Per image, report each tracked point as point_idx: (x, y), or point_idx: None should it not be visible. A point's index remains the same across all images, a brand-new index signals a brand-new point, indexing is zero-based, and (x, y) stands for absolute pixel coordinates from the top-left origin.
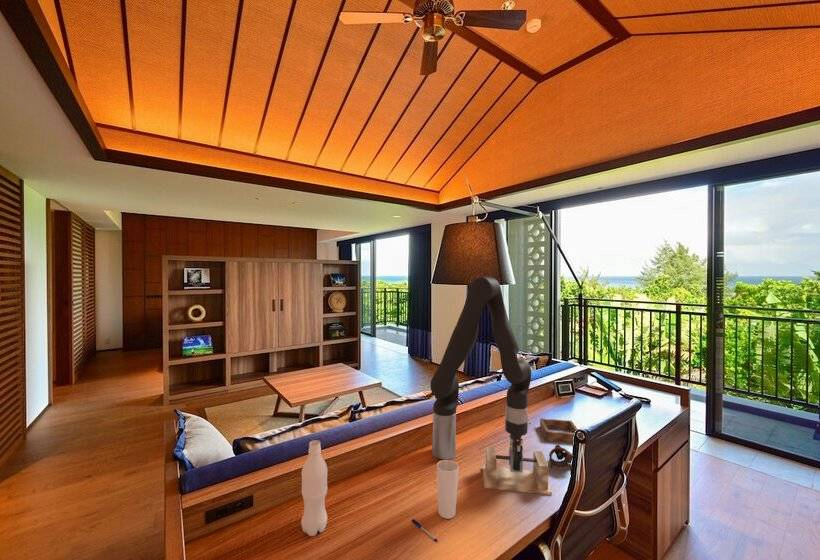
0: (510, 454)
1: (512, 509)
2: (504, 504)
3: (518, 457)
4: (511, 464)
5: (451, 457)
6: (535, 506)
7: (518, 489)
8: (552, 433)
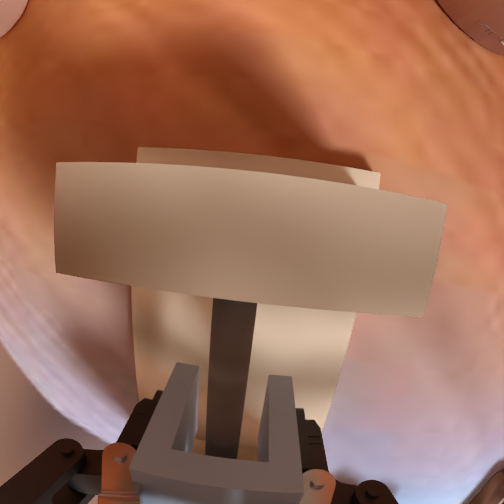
0: (178, 458)
1: (20, 270)
2: (38, 242)
3: (71, 484)
4: (162, 401)
5: (449, 12)
6: (62, 370)
7: (134, 347)
8: (496, 501)
